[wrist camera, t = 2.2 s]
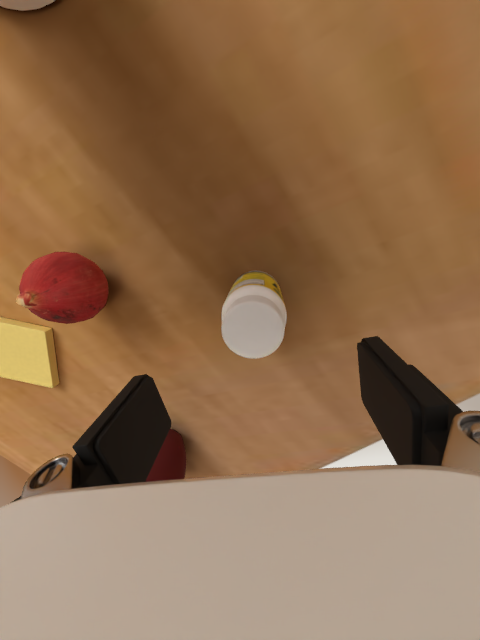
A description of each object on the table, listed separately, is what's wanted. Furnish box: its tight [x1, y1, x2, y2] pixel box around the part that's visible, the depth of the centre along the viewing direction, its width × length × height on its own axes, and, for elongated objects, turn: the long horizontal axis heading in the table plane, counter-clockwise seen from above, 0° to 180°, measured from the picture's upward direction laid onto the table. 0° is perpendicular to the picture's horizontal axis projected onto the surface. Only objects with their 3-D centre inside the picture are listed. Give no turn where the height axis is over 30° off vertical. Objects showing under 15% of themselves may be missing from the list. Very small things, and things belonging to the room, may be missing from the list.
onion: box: [16, 252, 109, 324], centre depth 20 cm, size 6×6×8 cm
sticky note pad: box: [0, 317, 59, 388], centre depth 27 cm, size 8×8×1 cm
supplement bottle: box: [221, 271, 287, 359], centre depth 19 cm, size 5×5×8 cm
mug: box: [145, 429, 186, 482], centre depth 27 cm, size 11×8×10 cm
